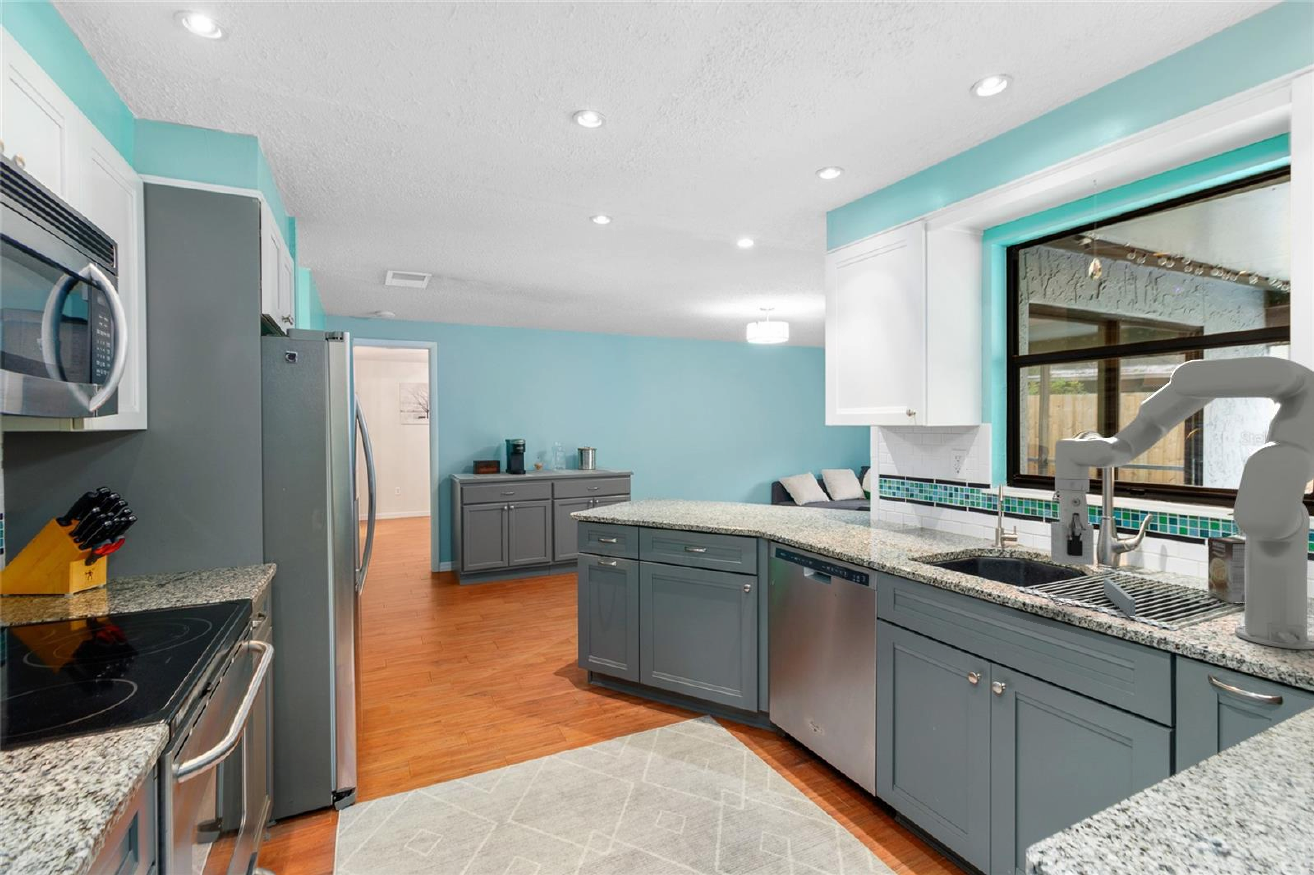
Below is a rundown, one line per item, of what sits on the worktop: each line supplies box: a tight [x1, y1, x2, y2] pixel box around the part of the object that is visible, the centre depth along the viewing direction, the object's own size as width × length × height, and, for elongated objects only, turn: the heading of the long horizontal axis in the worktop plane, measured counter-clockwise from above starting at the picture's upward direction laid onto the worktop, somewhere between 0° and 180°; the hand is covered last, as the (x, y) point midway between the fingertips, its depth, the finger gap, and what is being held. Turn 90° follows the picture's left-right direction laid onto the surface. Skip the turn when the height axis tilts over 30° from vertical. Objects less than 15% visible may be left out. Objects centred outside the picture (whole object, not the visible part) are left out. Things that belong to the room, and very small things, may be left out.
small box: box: [1050, 521, 1095, 566], centre depth 164 cm, size 8×6×10 cm
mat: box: [1051, 594, 1093, 607], centre depth 164 cm, size 11×9×1 cm
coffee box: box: [1207, 536, 1245, 604], centre depth 165 cm, size 9×6×16 cm
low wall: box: [1103, 577, 1136, 617], centre depth 160 cm, size 24×1×4 cm, turn 156°
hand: (1071, 552), depth 164 cm, fingers closed on small box, 6 cm apart
